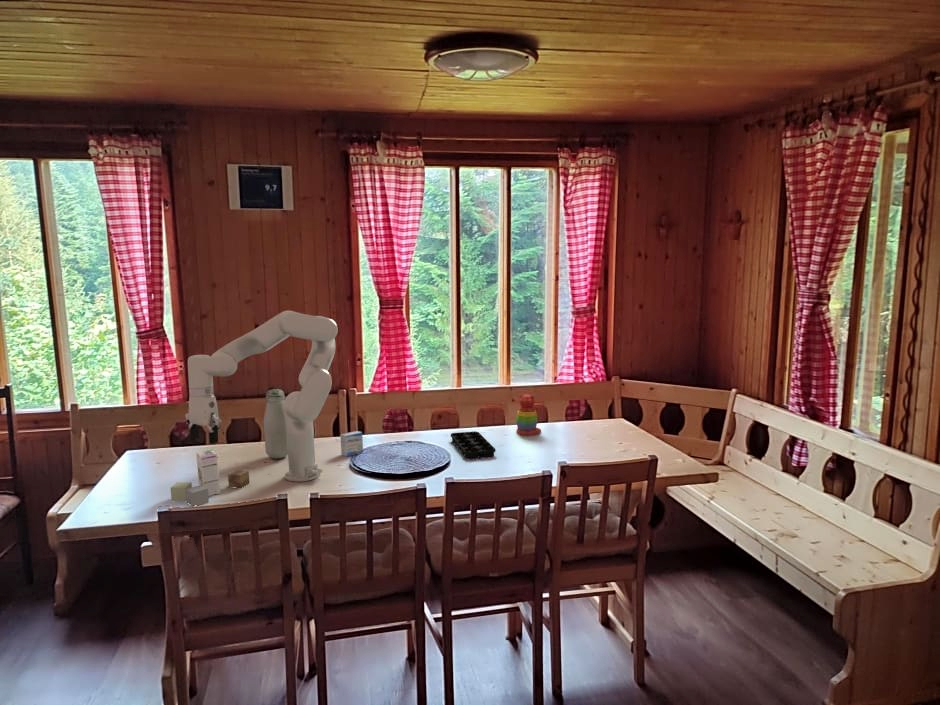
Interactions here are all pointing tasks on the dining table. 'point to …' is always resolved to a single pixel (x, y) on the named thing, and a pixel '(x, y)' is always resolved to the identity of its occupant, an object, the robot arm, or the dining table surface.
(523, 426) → the stacking bear
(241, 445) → the dining table surface
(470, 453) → the egg carton
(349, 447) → the medicine box
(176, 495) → the sage green cube
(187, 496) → the slate grey cube
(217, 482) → the syrup box
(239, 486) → the walnut cube
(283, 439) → the glass bottle
